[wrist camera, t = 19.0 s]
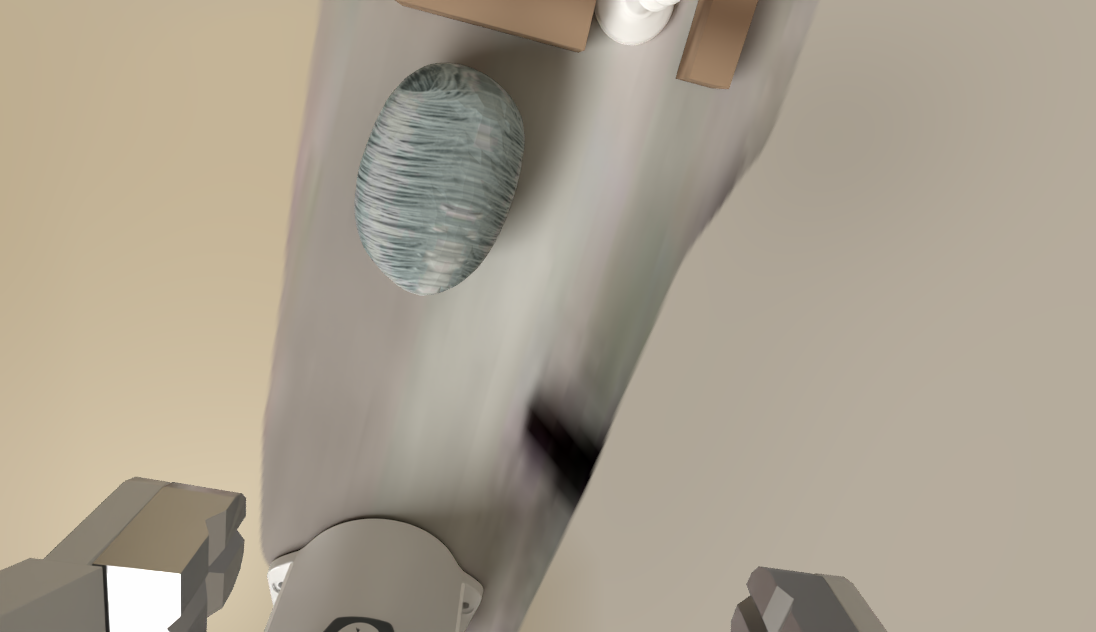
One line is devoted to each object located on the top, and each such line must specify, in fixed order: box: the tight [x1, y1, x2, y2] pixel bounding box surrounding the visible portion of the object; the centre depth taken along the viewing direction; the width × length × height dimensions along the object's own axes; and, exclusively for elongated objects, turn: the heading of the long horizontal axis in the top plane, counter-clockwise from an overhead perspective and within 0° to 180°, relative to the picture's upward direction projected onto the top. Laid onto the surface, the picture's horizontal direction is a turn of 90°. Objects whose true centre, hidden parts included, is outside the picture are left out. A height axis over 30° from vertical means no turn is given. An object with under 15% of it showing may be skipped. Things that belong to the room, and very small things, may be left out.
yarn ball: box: [355, 63, 525, 296], centre depth 34 cm, size 14×10×10 cm
